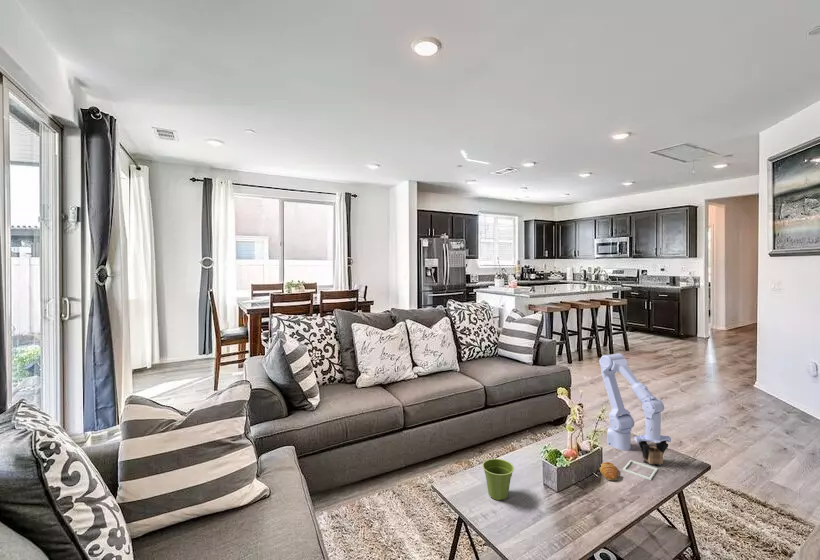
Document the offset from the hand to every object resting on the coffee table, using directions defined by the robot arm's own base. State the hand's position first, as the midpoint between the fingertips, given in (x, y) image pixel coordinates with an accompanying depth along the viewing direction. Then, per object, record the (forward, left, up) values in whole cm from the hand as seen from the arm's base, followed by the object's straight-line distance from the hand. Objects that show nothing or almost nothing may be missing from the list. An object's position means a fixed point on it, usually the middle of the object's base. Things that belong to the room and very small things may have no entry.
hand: (652, 457), depth 164 cm
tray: (-2, -11, -3) cm, 11 cm away
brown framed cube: (0, 0, -1) cm, 1 cm away
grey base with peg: (0, 0, -3) cm, 3 cm away
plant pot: (-36, -64, -3) cm, 74 cm away
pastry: (-10, -20, -3) cm, 23 cm away
